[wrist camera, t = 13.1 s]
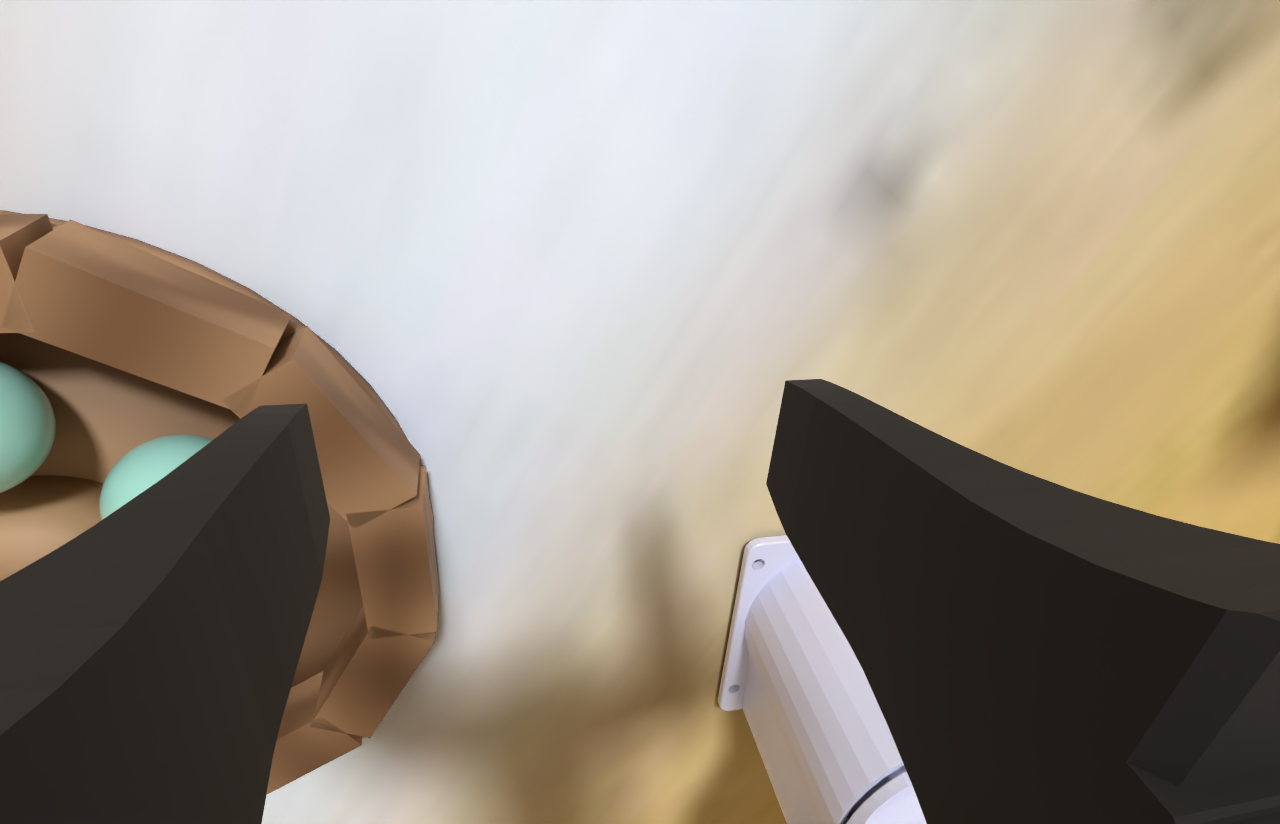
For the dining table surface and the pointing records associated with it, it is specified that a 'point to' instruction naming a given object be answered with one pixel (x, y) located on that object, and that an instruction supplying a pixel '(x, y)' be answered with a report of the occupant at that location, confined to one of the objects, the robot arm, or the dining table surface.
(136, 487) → the bead
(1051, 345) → the dining table surface
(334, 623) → the ring tray
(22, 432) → the bead
